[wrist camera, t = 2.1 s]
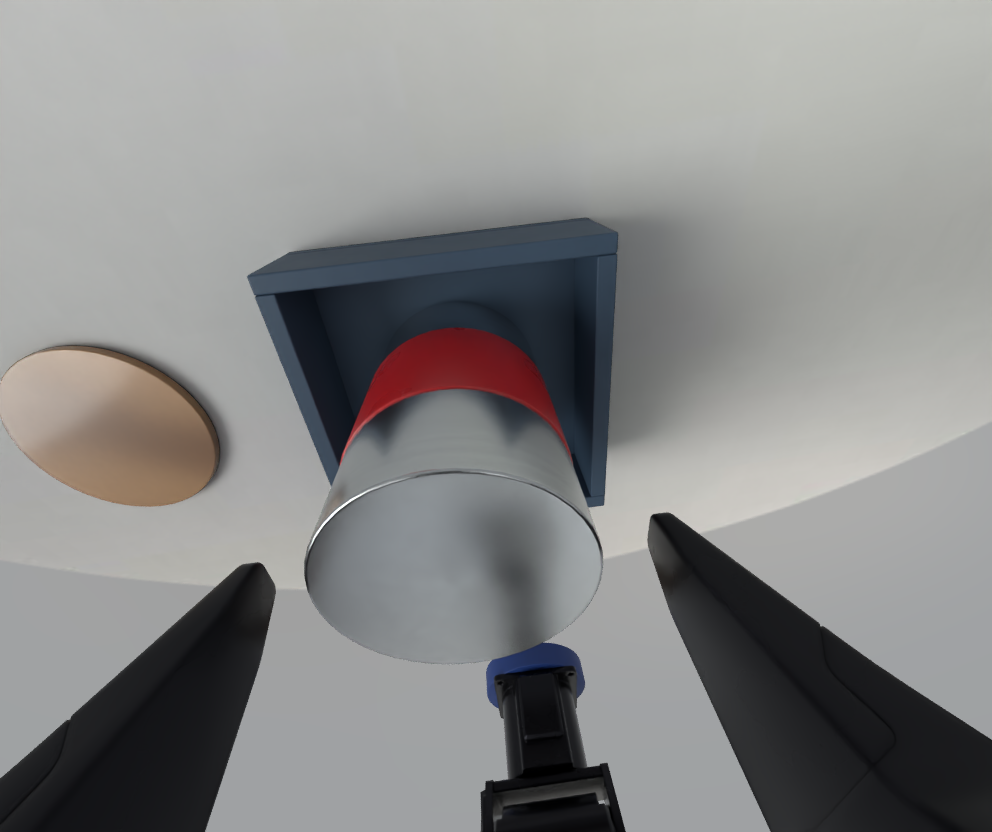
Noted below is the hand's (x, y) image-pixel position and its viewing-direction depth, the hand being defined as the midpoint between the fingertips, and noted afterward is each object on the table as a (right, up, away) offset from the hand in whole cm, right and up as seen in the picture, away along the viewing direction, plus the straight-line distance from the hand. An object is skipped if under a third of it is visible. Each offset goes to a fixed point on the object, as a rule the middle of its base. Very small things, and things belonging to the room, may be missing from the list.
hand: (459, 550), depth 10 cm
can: (-1, +5, +8) cm, 9 cm away
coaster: (-15, +2, +8) cm, 18 cm away
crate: (-1, +5, +8) cm, 10 cm away
